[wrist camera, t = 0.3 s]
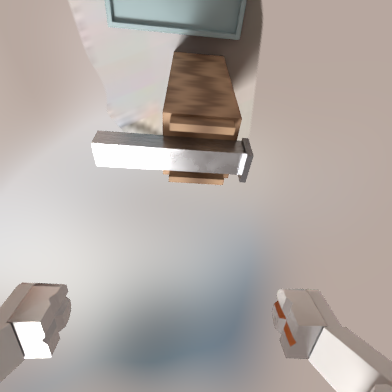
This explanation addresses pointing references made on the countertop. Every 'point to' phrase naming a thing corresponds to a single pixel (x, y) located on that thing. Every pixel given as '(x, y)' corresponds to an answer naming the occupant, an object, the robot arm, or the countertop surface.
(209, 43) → the countertop surface
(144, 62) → the countertop surface
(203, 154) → the gray rectangular bar
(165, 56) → the countertop surface
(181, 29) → the tray
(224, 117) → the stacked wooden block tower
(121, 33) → the countertop surface
